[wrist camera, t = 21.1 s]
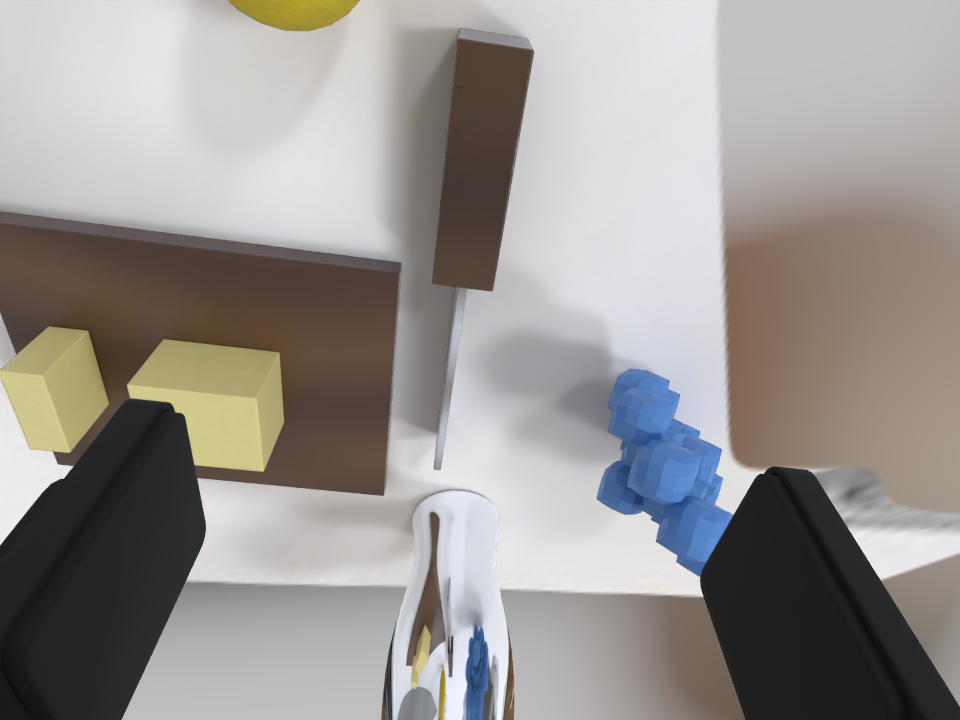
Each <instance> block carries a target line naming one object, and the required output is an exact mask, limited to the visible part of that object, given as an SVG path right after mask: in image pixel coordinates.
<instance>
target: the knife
mask: <svg viewBox="0 0 960 720" xmlns="http://www.w3.org/2000/svg"><path fill="white" fill-rule="evenodd" d="M533 55H534V50H533V48H532V46H531V44H530V42H529V40H528V39H527V38H521V37H515V36H509V35H503V34H496V33H490V32H484V31H478V30H471V29H465V28H461V29H460V32H459V36H458V40H457V49H456V59H455V68H454V78H453V87H452V97H451V106H450V116H449V126H448V135H447V145H446V154H445V164H444V174H443V183H442V193H441V202H440V212H439V221H438V231H437V241H436V250H435V260H434V269H433V279H432V283H433V284H436V285H444V286H452V287H456V293H455V301H454V308H453V316H452V323H451V331H450V339H449V346H448V354H447V361H446V369H445V377H444V384H443V392H442V400H441V407H440V415H439V422H438V430H437V439H436V450H435V461H434V470H441V464H442V457H443V450H444V443H445V436H446V429H447V422H448V415H449V408H450V401H451V394H452V387H453V380H454V373H455V366H456V359H457V352H458V345H459V338H460V331H461V324H462V317H463V310H464V303H465V296H466V290H467V288H468V289H476V290H484V291H493V287H494V282H495V276H496V270H497V264H498V258H499V253H500V247H501V241H502V235H503V229H504V224H505V218H506V212H507V206H508V200H509V195H510V189H511V183H512V177H513V171H514V166H515V160H516V154H517V148H518V142H519V137H520V131H521V125H522V119H523V113H524V108H525V102H526V96H527V90H528V84H529V79H530V73H531V67H532V61H533Z"/></svg>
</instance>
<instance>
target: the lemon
mask: <svg viewBox="0 0 960 720" xmlns="http://www.w3.org/2000/svg"><path fill="white" fill-rule="evenodd" d="M228 1H229V2H230V3H231V4H232V5H233V6H235V7H236V8H237V9H238V10H239V11H241V12H243V13H244V14H246V15H248V16H249V17H251V18H253V19H255V20H256V21H258V22H260V23H262V24H265V25H268V26H272V27H275V28H278V29H282V30H285V31H311V30H315V29H318V28H322V27H326V26H329V25H331V24H333V23H334V22H336V21H338V20H339V19H341V18H342V17H344V16H345V15H347V14H348V13H349V12H350V11H351V10H352V9H353V8H354V6H355V5H356V4H357V3H358V2H359V1H360V0H228Z"/></svg>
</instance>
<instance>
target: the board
mask: <svg viewBox="0 0 960 720" xmlns="http://www.w3.org/2000/svg"><path fill="white" fill-rule="evenodd" d="M401 270H402V264H401V263H397V262H389V261H381V260H373V259H365V258H357V257H350V256H342V255H334V254H326V253H318V252H311V251H303V250H295V249H287V248H279V247H271V246H264V245H256V244H248V243H240V242H232V241H225V240H217V239H209V238H201V237H193V236H185V235H178V234H170V233H162V232H154V231H146V230H139V229H131V228H123V227H115V226H107V225H99V224H92V223H84V222H76V221H68V220H60V219H53V218H45V217H37V216H29V215H21V214H13V213H6V212H0V313H1V316H2V318H3V321H4V324H5V326H6V329H7V332H8V334H9V337H10V339H11V342H12V345H13V347H14V350H15V353H16V355H17V354H18V353H19V352H20V351H22V350H23V349H24V348H25V347H26V346H27V345H28V344H29V343H31V342H32V341H33V340H34V339H35V338H36V337H37V336H39V335H40V334H41V333H42V332H43V331H44V330H45V329H46V328H48V327H50V326H51V327H60V328H69V329H78V330H86V331H88V332H89V335H90V339H91V342H92V346H93V349H94V352H95V356H96V359H97V363H98V366H99V370H100V373H101V377H102V380H103V384H104V387H105V391H106V394H107V398H108V401H109V405H108V406H107V407H106V409H105V410H104V411H103V412H102V414H101V415H100V416H99V417H98V418H97V420H96V421H95V422H94V423H93V425H92V426H91V427H90V428H89V430H88V431H87V432H86V433H85V435H84V436H83V437H82V438H81V440H80V441H79V442H78V443H77V444H76V446H75V447H74V448H73V449H72V451H71V452H70V453H65V452H55V451H53V453H54V455H55V458H56V461H57V463H58V464H59V465H69V466H74V465H75V464H76V463H77V461H78V460H79V459H80V458H81V456H82V455H83V454H84V453H85V451H86V450H87V449H88V447H89V446H90V445H91V444H92V442H93V441H94V440H95V438H96V437H97V436H98V435H99V433H100V432H101V431H102V429H103V428H104V427H105V426H106V424H107V423H108V422H109V420H110V419H111V418H112V417H113V415H114V414H115V413H116V411H117V410H118V409H119V408H120V406H121V405H122V404H123V403H124V402H125V401H126V400H128V399H130V396H129V392H128V388H127V384H128V383H129V382H130V381H131V379H132V378H133V377H134V376H135V374H136V373H137V372H138V371H139V369H140V368H141V367H142V366H143V364H144V363H145V362H146V361H147V359H148V358H149V357H150V356H151V354H152V353H153V352H154V351H155V349H156V348H157V347H158V346H159V344H160V343H161V342H162V341H163V340H164V339H168V340H176V341H185V342H194V343H203V344H211V345H220V346H229V347H238V348H246V349H255V350H264V351H273V352H279V354H280V367H281V382H282V397H283V412H284V424H283V426H282V428H281V431H280V433H279V436H278V438H277V441H276V443H275V445H274V448H273V450H272V453H271V455H270V457H269V460H268V462H267V465H266V467H265V470H264V471H263V472H260V471H250V470H239V469H229V468H219V467H209V466H199V465H195V470H196V476H197V478H204V479H214V480H225V481H235V482H245V483H256V484H266V485H276V486H287V487H297V488H307V489H318V490H328V491H338V492H349V493H359V494H370V495H380V496H384V493H385V488H386V481H387V467H388V453H389V439H390V425H391V411H392V397H393V383H394V368H395V354H396V340H397V326H398V312H399V298H400V284H401Z"/></svg>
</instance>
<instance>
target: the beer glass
mask: <svg viewBox="0 0 960 720" xmlns="http://www.w3.org/2000/svg"><path fill="white" fill-rule="evenodd" d="M500 526H501V519H500V515H499V512H498V510H497V508H496V507H495V506H494V505H493V504H492V503H491V502H490V501H489V500H487V499H486V498H484V497H482V496H480V495H478V494H475V493H472V492H467V491H458V490H453V491H444V492H440V493H436V494H434V495H431V496H429V497H427V498H426V499H424V500H423V501H422V502H421V503H420V504H419V505H418V506H417V507H416V509H415V511H414V514H413V519H412V527H413V537H414V563H413V568H412V573H411V576H410V580H409V583H408V587H407V590H406V593H405V596H404V599H403V602H402V605H401V609H400V612H399V615H398V618H397V622H396V625H395V629H394V633H393V637H392V641H391V645H390V649H389V654H388V661H387V667H386V674H385V682H384V692H383V703H382V719H381V720H514V674H513V661H512V650H511V644H510V638H509V632H508V626H507V621H506V617H505V612H504V607H503V603H502V598H501V594H500V589H499V584H498V579H497V574H496V549H497V543H498V538H499V533H500Z"/></svg>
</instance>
